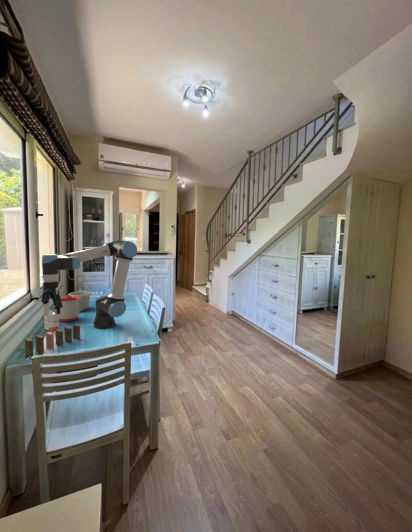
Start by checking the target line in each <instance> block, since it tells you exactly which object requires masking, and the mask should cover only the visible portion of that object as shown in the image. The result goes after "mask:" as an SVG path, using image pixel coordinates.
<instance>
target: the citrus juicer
mask: <svg viewBox="0 0 412 532" xmlns="http://www.w3.org/2000/svg"><path fill="white" fill-rule="evenodd" d="M60 298H61V302H62V306H63V307H62V308H60V312H61V319H59V321H61V322H74V321H76V320H77V319H78V317H79V314H80V311H79V297H77V296H74V297H73V298H72V297H71V296H70V295H68V294H67V295H66V296H60ZM73 320H74V321H73Z"/></svg>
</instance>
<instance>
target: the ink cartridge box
mask: <svg viewBox="0 0 412 532" xmlns="http://www.w3.org/2000/svg"><path fill="white" fill-rule="evenodd" d="M43 316H44V317H43V319H44V330H45V329H46V331H49V332H55V330H57V329H59V330H60V319H58V320H55V311H53V309H49V314H48V315H44V314H43Z"/></svg>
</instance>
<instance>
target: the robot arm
mask: <svg viewBox="0 0 412 532" xmlns="http://www.w3.org/2000/svg"><path fill="white" fill-rule="evenodd" d="M137 253H138V247H137V245H136V244H135V243H134V242H133V241H130V240H120V239H119V240H114V241H112V242H111V241H109V242H108V243H107V242H106V243H104V244H103V245H101V246H96V247H93V248H88V249H84V250H78V251H74V252H69V253H64V254H56V253H47V254H46V253H45V254H43V255H42V256H41V266H42V267H41V269H42V276H41V278H42V281H43V282H42V288H43V289H42V295H41V301H40V302H41V303H42V304H43V316H44V315H48V314H49V312H50V311H49V310H50V299H51V300H52V303H53V306H54V312H55V320H58V319H59V320H60V319H61V312H60V308H62V307H63V306H62V302H61V298H60V297H61V295H60V291H59V290H57V289H58V288H59V271H66V270H67V271H68V270H69V271H70V270H73V271H74V270H77V269H79V268H80V267H81V263H83V262H87V261H91V260H95V259H98V258H102V257H114V258H115V260H116V264H115V270H114V275H113V280H112V285H111V290H110V293H108V294H100V295H97V296H96V297H95V318H94V320H93V328H95V329H98V330H99V329H102V330H104V329H109V327H110V328H112V326H113V325H114V326H115V325H116V320H115V318H119V317H121V316H122V315H124V313H125V312H126V310H127V304H126V303H125V299H126V298H125V296H124V294H125V288H126V284H127V283H126V282H127V277H128V273H129V268H130V263H131V262H133V259H134V257H136V256H137ZM114 326H113V327H114Z"/></svg>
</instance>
